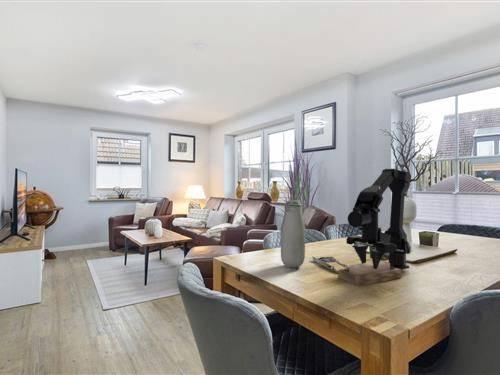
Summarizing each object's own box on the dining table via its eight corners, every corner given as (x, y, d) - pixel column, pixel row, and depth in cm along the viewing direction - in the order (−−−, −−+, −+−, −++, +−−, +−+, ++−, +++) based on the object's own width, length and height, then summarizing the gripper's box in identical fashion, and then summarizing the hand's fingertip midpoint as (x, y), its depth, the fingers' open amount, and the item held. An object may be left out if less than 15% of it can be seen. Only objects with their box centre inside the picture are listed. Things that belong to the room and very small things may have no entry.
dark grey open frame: (335, 275, 113) (358, 274, 115) (335, 266, 113) (358, 265, 115) (311, 262, 134) (331, 261, 136) (311, 255, 134) (331, 254, 136)
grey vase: (289, 271, 117) (288, 201, 117) (276, 265, 126) (276, 199, 126) (309, 268, 121) (309, 200, 121) (296, 262, 130) (296, 199, 130)
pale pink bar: (357, 279, 104) (357, 268, 104) (349, 276, 108) (349, 265, 108) (389, 273, 111) (389, 263, 111) (381, 270, 114) (381, 260, 114)
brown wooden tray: (379, 270, 118) (379, 262, 118) (401, 277, 109) (401, 269, 109) (338, 277, 109) (338, 269, 109) (358, 286, 100) (358, 277, 100)
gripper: (407, 226, 104) (407, 270, 104) (366, 220, 121) (366, 258, 121) (384, 228, 99) (384, 275, 99) (345, 222, 116) (345, 261, 116)
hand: (369, 266), depth 109 cm, fingers open, 5 cm apart
